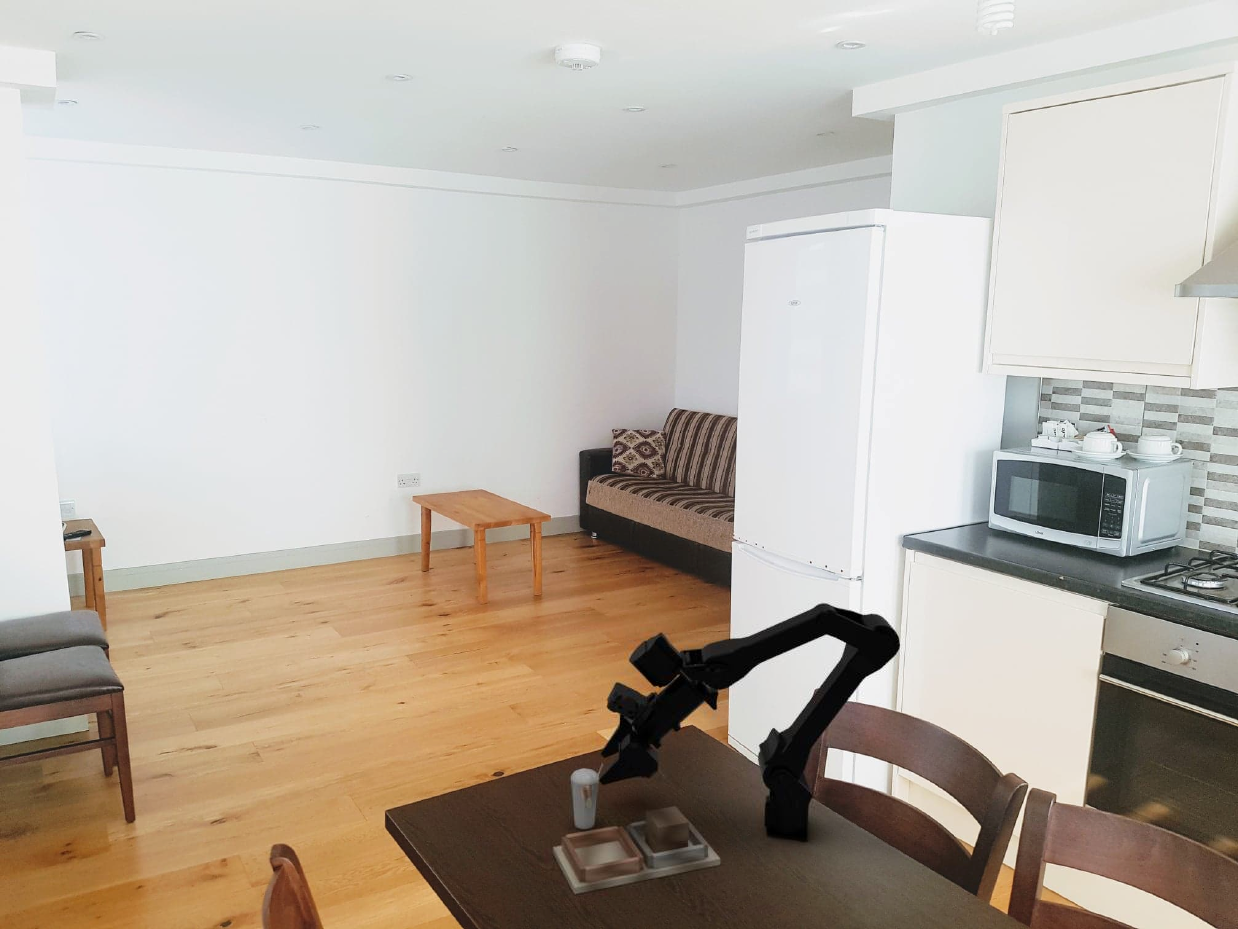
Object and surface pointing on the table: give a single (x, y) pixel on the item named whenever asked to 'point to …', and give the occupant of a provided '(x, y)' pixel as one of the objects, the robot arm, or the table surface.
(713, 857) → the grey-brown divided tray
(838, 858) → the table surface
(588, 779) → the milkshake
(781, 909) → the table surface
